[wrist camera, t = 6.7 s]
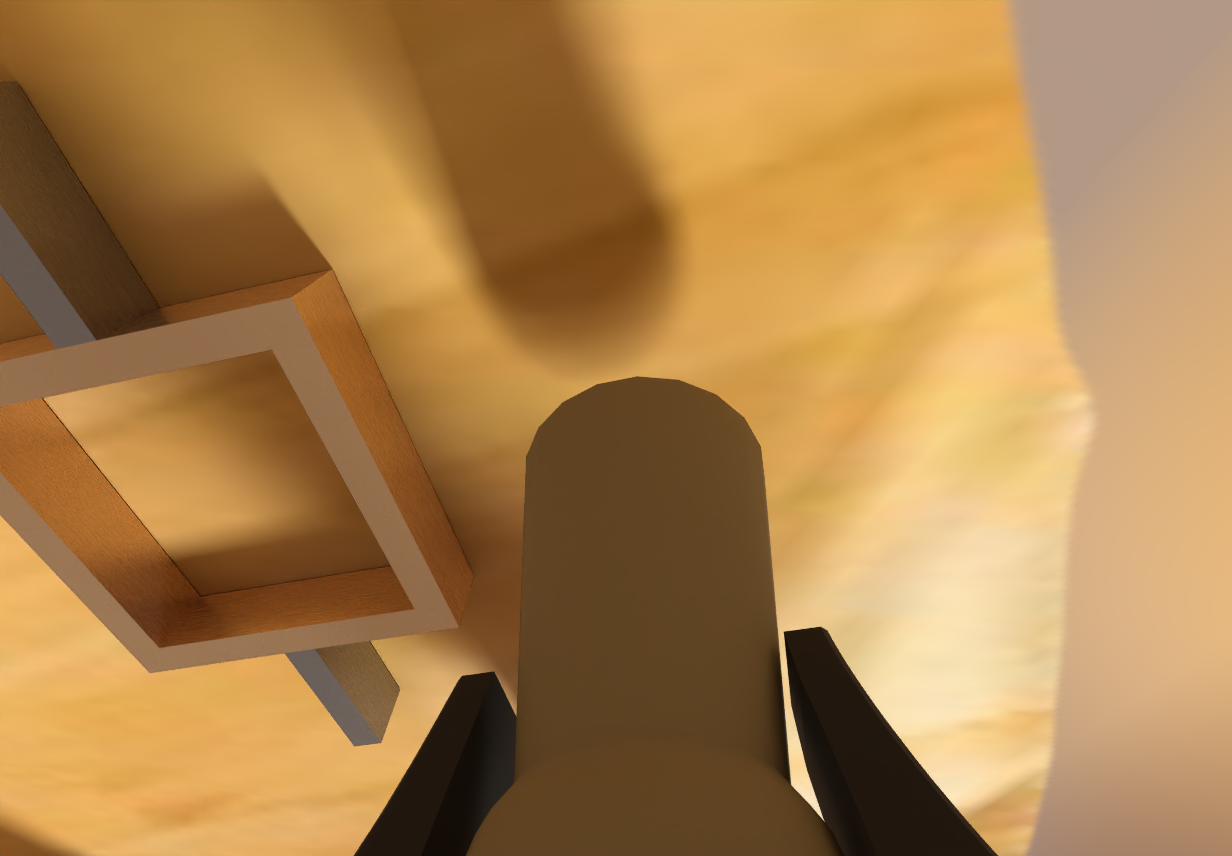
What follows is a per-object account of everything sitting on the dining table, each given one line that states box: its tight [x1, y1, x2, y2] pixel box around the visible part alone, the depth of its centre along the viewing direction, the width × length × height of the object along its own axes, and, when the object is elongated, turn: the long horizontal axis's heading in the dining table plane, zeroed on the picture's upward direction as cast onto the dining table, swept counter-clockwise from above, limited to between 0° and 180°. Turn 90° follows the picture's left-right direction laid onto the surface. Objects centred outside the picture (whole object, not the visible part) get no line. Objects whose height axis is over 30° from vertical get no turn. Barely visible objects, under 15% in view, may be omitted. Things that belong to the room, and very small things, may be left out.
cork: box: [466, 376, 844, 856], centre depth 11 cm, size 6×6×11 cm
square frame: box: [0, 82, 474, 746], centre depth 20 cm, size 24×12×2 cm, turn 12°
